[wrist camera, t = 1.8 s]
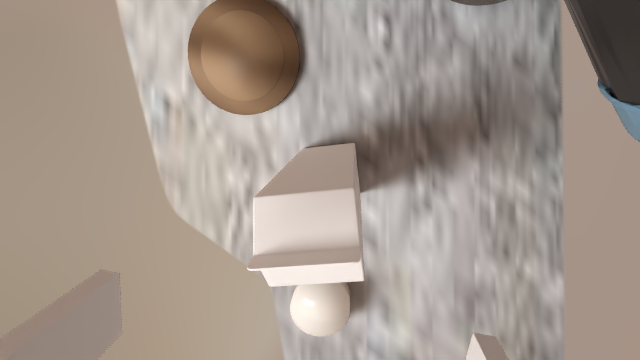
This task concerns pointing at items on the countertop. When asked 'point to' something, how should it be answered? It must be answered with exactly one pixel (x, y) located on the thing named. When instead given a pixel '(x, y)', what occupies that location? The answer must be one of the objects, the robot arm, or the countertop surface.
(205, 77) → the disc
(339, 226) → the milk
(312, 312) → the cream rounded dome part
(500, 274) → the countertop surface
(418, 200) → the countertop surface
